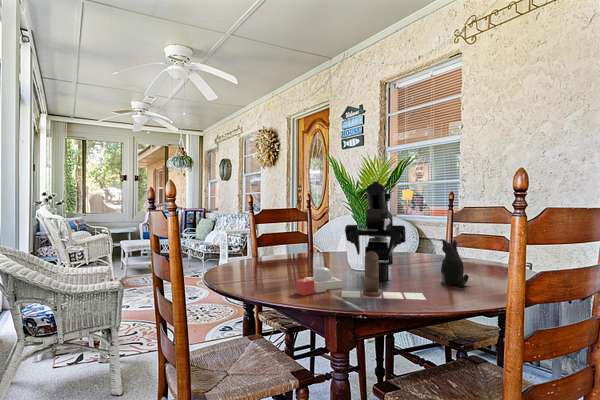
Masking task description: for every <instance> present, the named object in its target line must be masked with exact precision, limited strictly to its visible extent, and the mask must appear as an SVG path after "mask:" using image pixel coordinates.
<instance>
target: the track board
mask: <svg viewBox="0 0 600 400" xmlns="http://www.w3.org/2000/svg"><path fill="white" fill-rule="evenodd" d="M361 294H362V295H361ZM361 296H362V299H388V300H389V299H392V300H396V299H397V300H404V299H405V300H419V301H420V300H421V301H422V300H423V301H424V300H425V301H427V299H426V297H425V295H424V294H423V293H422V292H403V293H402V292H398V291H397V292H393V291H392V292H391V291H382V295H381V296H378V297H368V296H364V295H363V290H362V293H361V291H360V290H358V291H357V290H341V295H340V296H339V301H348V300H347V299H345V298H354V299H355V298H359V299H360V298H361Z"/></svg>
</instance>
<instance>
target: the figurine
mask: <svg viewBox="0 0 600 400" xmlns="http://www.w3.org/2000/svg"><path fill="white" fill-rule="evenodd" d="M441 241H442V247H441V250H442V252H443V253H444V255H445V256H444V258H443V259H442V261H441V267H440V280H439V282H438V283H440V284H444V285H450V286H452V287H456V288H463V287H464V286H465V285H466V283H468V281H469V278H470V276H469V274H464V268H465V267H464V262H463V260H462V258H461V256H460V254H459V252H458V248H457V245H458V242H457V240H456V239H453V240H452V241H451V242H448V241H446V239H442V240H441Z"/></svg>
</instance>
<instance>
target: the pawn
mask: <svg viewBox="0 0 600 400" xmlns="http://www.w3.org/2000/svg"><path fill="white" fill-rule="evenodd" d="M378 261H379V260H378V255H377V254H376V253H375V252H373V251H370V252H367V253H366V254H365V253H364V288H363V289H362V291H363V295H364V296H368V297H378V296H382V290H381V289H379V287H380V286H379V285H380V284H379V283H380V282H379V263H378Z"/></svg>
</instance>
